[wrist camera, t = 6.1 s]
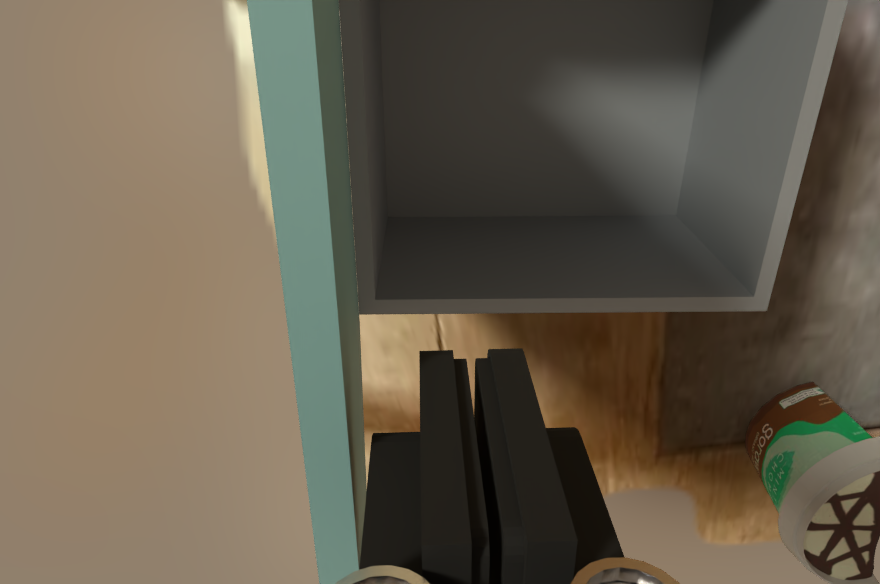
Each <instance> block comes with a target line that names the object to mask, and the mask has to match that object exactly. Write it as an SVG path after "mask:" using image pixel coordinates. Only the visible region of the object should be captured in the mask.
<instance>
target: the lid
mask: <svg viewBox="0 0 880 584" xmlns="http://www.w3.org/2000/svg"><path fill="white" fill-rule="evenodd" d="M247 4H248V12H249V20H250V28H251V36H252V44H253V52H254V61H255V69H256V77H257V85H258V93H259V101H260V109H261V117H262V125H263V133H264V141H265V149H266V157H267V165H268V173H269V181H270V189H271V197H272V205H273V213H274V221H275V229H276V237H277V245H278V254H279V262H280V270H281V278H282V286H283V294H284V302H285V310H286V317H287V326H288V334H289V341H290V350H291V358H292V366H293V374H294V382H295V390H296V398H297V406H298V414H299V422H300V430H301V438H302V446H303V454H304V463H305V469H306V470H305V471H306V479H307V486H308V494H309V503H310V511H311V519H312V527H313V535H314V542H315V551H316V558H317V567H318V574H319V583H320V584H335V583H336V582H337V581H339V580H341V579H342V578H344V577H346V576H347V575H349V574H351V573H352V572H354V571H357V570H359V566H360V556H361V545H362V535H363V525H364V514H365V504H366V493H367V491H366V467H365V443H364V418H363V394H362V370H361V345H360V321H359V306H358V290H357V275H356V260H355V245H354V229H353V214H352V199H351V184H350V168H349V153H348V138H347V123H346V107H345V92H344V77H343V62H342V46H341V31H340V16H339V1H338V0H247Z"/></svg>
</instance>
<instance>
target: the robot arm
mask: <svg viewBox="0 0 880 584" xmlns="http://www.w3.org/2000/svg"><path fill="white" fill-rule="evenodd" d="M335 584H680V583H679V582H678V581H676V580H675V579H674V578H672V577H671V576H670V575H668V574H667V573H666V572H664V571H663V570H661V569H659V568H657V567H655V566H653V565H650V564H648V563H646V562H644V561H639V560H635V559H630V558H625V557H624V555H623V552H622V549H621V547H620V544H619V541H618V538H617V535H616V533H615V530H614V527H613V524H612V521H611V519H610V516H609V513H608V510H607V508H606V505H605V502H604V499H603V496H602V493H601V491H600V488H599V485H598V482H597V479H596V477H595V474H594V471H593V468H592V465H591V463H590V460H589V457H588V454H587V452H586V449H585V446H584V443H583V440H582V438H581V435H580V433H579V431H578V429H576V428H575V427H571V428H545V424H544V421H543V417H542V414H541V411H540V407H539V404H538V400H537V397H536V393H535V390H534V386H533V383H532V379H531V376H530V372H529V369H528V365H527V362H526V358H525V355H524V351H523V349H489V350H488V356H487V358H477V359H476V361H475V409H474V414H473V406H472V399H471V391H470V384H469V376H468V368H467V361H466V359H454V357H453V350H446V351H420V432H399V433H373V435H372V442H371V452H370V462H369V472H368V483H367V493H366V504H365V514H364V525H363V535H362V545H361V556H360V566H359V570H357V571H354V572H352V573H351V574H349V575H347V576H346V577H344V578H342V579H341V580H339V581H337V582H336V583H335Z"/></svg>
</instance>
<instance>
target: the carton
mask: <svg viewBox="0 0 880 584" xmlns="http://www.w3.org/2000/svg"><path fill="white" fill-rule="evenodd" d="M847 3H848V0H339V11H340V26H341V42H342V57H343V72H344V87H345V103H346V118H347V133H348V149H349V164H350V179H351V195H352V210H353V225H354V240H355V256H356V271H357V286H358V302H359V314H474V313H596V312H717V311H767V308H768V304H769V301H770V297H771V293H772V289H773V285H774V281H775V278H776V274H777V270H778V266H779V262H780V259H781V255H782V251H783V247H784V243H785V240H786V236H787V232H788V228H789V224H790V220H791V217H792V213H793V209H794V205H795V201H796V198H797V194H798V190H799V186H800V182H801V178H802V175H803V171H804V167H805V163H806V159H807V156H808V152H809V148H810V144H811V140H812V137H813V133H814V129H815V125H816V121H817V117H818V114H819V110H820V106H821V102H822V98H823V95H824V91H825V87H826V83H827V79H828V76H829V72H830V68H831V64H832V60H833V56H834V53H835V49H836V45H837V41H838V37H839V34H840V30H841V26H842V22H843V18H844V14H845V11H846V7H847Z"/></svg>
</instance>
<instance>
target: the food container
mask: <svg viewBox="0 0 880 584" xmlns="http://www.w3.org/2000/svg"><path fill="white" fill-rule="evenodd" d="M745 445H746V450H747V453H748V455H749V457H750V459H751V461H752V463H753V465H754V467H755V469H756V470H757V472H758V474H759V476H760V478H761V480H762V482H763V484H764V486H765V488H766V490H767V492H768V494H769V495H770V497H771V499H772V501H773V503H774V505H775V507H776V509H777V511H778V513H779V519H778V526H779V533H780V536H781V539H782V541H783V543H784V544H785V546H786V547H787V549H788V550H789V551H790V552H791V553H792V554H793V555H794V556H795V557H796V558H797V559H798V560H799V561H800V562H801V563H802V564H803V565H804V566H805V567H806V568H807V569H808V570H809V571H811V572H812V573H814V574H815V575H817V576H818V577H820V578H821V579H823V580H824V581H826V582H828V583H831V584H879V582H878V581H877V579H876V578H875V576H874V575H873V569H874V565H873V564H874V555H875V549H876V545H877V542H878V540H879V537H880V436H878V437H874V438H873V437H871V436H870V435H869V434H868V433H867V432H866V431H865V430H864V429H863V428H862V427H861V426H860V425H859V424H858V423H856V422H855V421H854V420H853V419H852V418H851V417H850V416H849V415H848V414H847V413H846V412H845V411H844V410H843V409H841V408H840V407H839V406H838V405H837V404H836V403H835V402H834V401H833V400H832V399H831V398H830V397H829V396H828V395H826V394H825V393H824V392H823V391H822V390H821V389H820V388H819V387H818V386H817V385H816V384H815V383H814V382H810V383H805V384H801V385H797V386H795V387H793V388H791V389H789V390H786V391H784V392H782V393H780V394H778V395H776V396H775V397H774V398H773V399H771V400H770V401H769V402H767V403H766V404H765V405H764V406H762V407H761V408H760V410H759V411H758V412H757V414H756V415H755V416H754V418H753V419H752V420H751V421H750V424H749V427H748V429H747V432H746V437H745Z"/></svg>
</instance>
